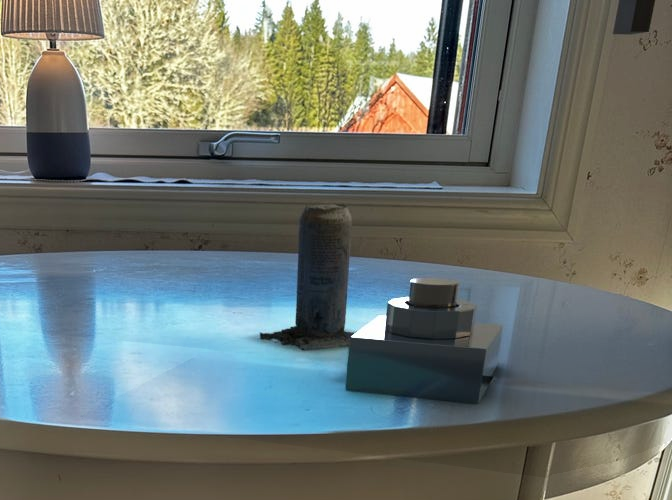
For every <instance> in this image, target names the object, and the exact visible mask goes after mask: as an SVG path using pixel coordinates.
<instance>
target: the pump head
mask: <svg viewBox="0 0 672 500" xmlns="http://www.w3.org/2000/svg"><path fill="white" fill-rule="evenodd" d="M459 287H460V281H458V280H454V279H449V278H440V277H417V278H413V279H412V278H411V280H410V282H409V289H408V291H409V292H408V297H409V299H408V306H414V307H419V308H433V309H441V308H455V307H456V304H457V300H458V295H459Z"/></svg>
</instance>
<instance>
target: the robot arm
mask: <svg viewBox="0 0 672 500" xmlns="http://www.w3.org/2000/svg"><path fill="white" fill-rule="evenodd" d="M655 3H656V0H618V4H617V9H616V16H615V19H614V25H613V30H612V35H637V34H644V33H649V32H650V29H651V23H652V19H653V13H654V8H655Z"/></svg>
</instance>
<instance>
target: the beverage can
mask: <svg viewBox="0 0 672 500" xmlns="http://www.w3.org/2000/svg"><path fill="white" fill-rule="evenodd" d="M348 207H349V206H348V205H346V204H344V203H331V204H310V205H307V204H306V206H305V207H304V209H303V210H302V212H301V215H300V217H299V220H298V221H299V223H298V224H299V225H298V246H297V247H298V248H297V249H298V250H297V271H296V273H297V277H296V279H297V280H296V301H295V302H296V304H295V307H296V308H295V322H294V323H295V325H294V326H289V327H290V328H284V329H281V330H279V331H273V332H271V333H269V332H259V338H258V339H260V340H267V341H271V342H274V341H273V340H277V341H276V343H279V342H280V343H281V345H282V346H286V345H287V346H288V345H290V346H294V347H296V348H298V349H299V351H303V350H304V351H305V352H306V351H316V350H326V349H335V348H336V349H337V348H347V347H348V348H349V339H350V337H351V336H352V335H354V334H355V333H356V332H355V331H353V332H351V331H346V330H345V327H346V319H347V304H348V303H347V301H348V290H349V289H348V286H349V285H348V284H349V274H350V273H349V272H350V260H351V259H350V258H351V244H352V242H351V241H352V226H353V217H352V215H351V213H350V209H349V208H348Z"/></svg>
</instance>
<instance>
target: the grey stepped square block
mask: <svg viewBox="0 0 672 500" xmlns="http://www.w3.org/2000/svg"><path fill="white" fill-rule="evenodd" d="M408 299H409V296H405V297H398V298H391V300H389V301H388V302H387V303H386V314H385V315H378V316H377V317H376V318H373V320H372V321H369V323H367V324H366V325H364V326H363V327H362V328H361V329H359V330H358V331H355V332H354V333H355V334H354V335H352V336H351V337H350V339H349V347H348V351H347V365H346V373H345V374H346V375H345V376H346V377H345V387H344V390H345V391H349V392H356V393H357V392H359V393H367V394H378V395H384V396H385V395H386V396H397V397H404V398H405V397H406V398H415V399H425V400H433V401H443V402H452V403H463V404H470V405H471V404H472V405H479V403H480V401H481V399H482V397H483V396H484V395H485V393H486V391H487V389H488V387H489V385H490V384H491V382H492V381H493V379H494V377H495V376H493V374H494V371H495V370H496V368H497V365H498V359H499V353H500V347H501V340H502V334H503V328H504V326H503V324H495V323H484V322H483V323H482V322H476V315H477V309H478V305H477V304H475V303H473V302H470V301H467V300H462V299H457V304H456V307H455V308H441V309H433V308H419V307H414V306H408Z"/></svg>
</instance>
